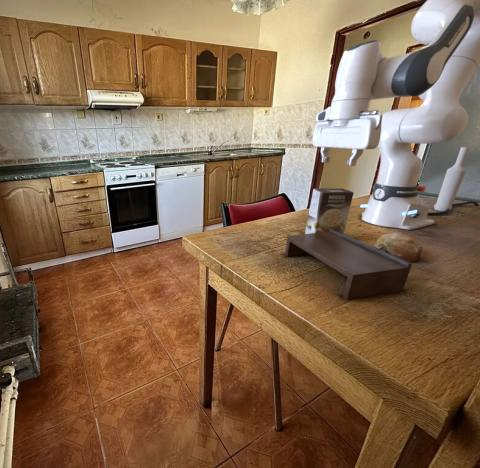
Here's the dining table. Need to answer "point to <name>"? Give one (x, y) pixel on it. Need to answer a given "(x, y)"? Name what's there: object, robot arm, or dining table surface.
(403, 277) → the shelf
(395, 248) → the bread roll
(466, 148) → the bottle
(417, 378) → the dining table surface
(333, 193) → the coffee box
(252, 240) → the dining table surface
